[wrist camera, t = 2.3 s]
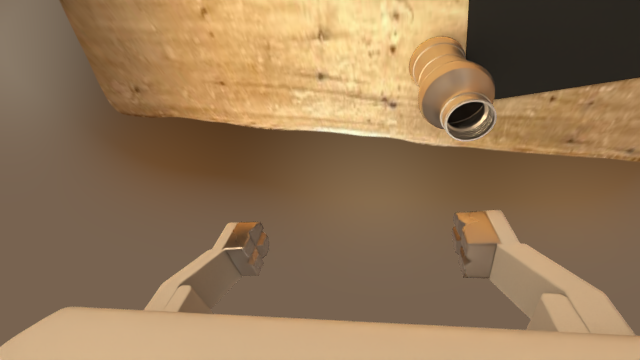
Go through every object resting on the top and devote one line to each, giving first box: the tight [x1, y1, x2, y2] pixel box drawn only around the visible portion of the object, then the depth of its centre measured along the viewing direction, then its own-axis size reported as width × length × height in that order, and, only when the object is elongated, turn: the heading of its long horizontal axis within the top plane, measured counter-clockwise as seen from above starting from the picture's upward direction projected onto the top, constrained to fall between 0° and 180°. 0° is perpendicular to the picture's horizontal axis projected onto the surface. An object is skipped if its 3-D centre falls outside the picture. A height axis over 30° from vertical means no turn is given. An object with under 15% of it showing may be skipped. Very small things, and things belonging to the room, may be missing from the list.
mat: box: [466, 0, 640, 99], centre depth 32 cm, size 22×14×1 cm, turn 104°
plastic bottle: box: [409, 37, 497, 141], centre depth 29 cm, size 6×7×20 cm
